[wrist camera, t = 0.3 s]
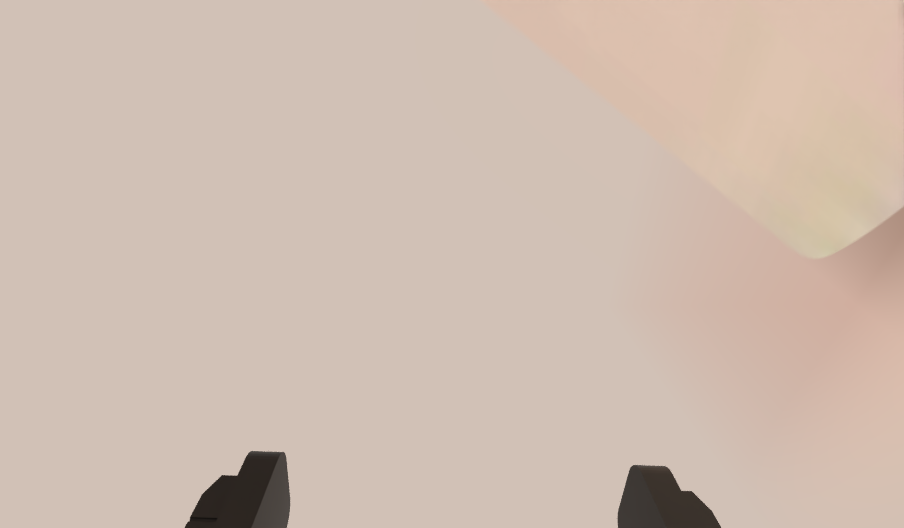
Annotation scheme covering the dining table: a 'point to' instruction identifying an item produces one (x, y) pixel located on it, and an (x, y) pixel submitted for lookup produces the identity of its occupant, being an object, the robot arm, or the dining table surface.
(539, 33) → the dining table surface
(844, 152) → the dining table surface
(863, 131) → the dining table surface
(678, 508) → the robot arm
